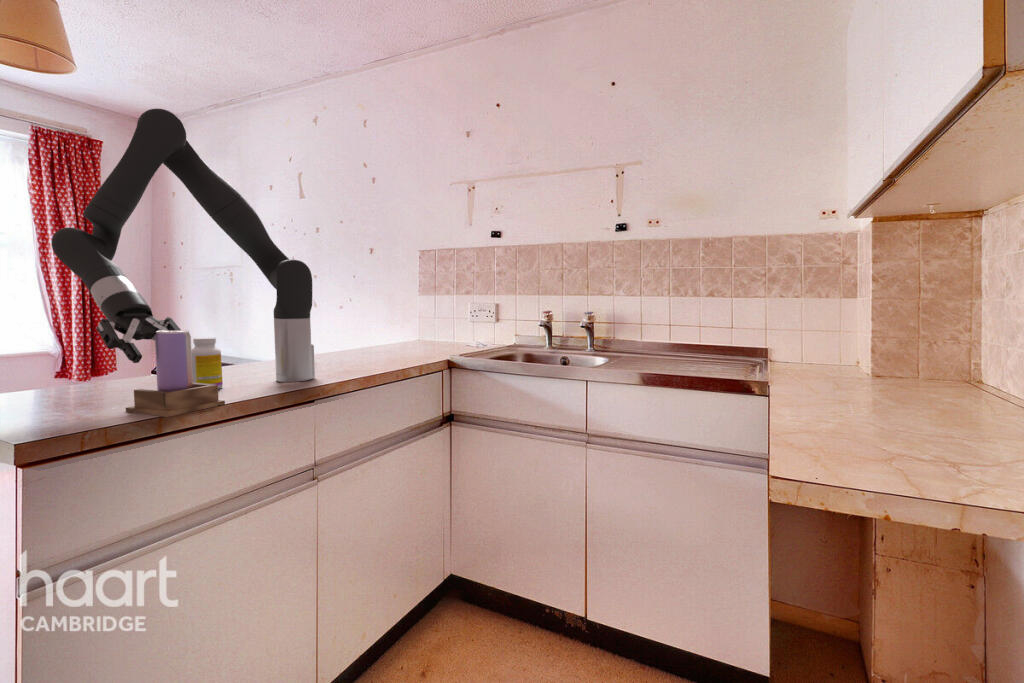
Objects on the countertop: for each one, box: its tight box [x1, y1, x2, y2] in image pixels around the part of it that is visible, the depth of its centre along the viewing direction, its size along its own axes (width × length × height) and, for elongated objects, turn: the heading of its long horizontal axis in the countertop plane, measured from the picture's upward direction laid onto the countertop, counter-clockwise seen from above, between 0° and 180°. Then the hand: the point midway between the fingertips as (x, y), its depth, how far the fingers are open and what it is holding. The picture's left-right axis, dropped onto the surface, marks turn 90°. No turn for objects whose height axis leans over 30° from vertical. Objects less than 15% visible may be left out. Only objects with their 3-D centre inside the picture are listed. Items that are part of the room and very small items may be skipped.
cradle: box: [125, 383, 226, 418], centre depth 98 cm, size 12×12×4 cm
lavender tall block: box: [154, 329, 193, 392], centre depth 98 cm, size 6×6×15 cm
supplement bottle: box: [191, 337, 224, 390], centre depth 118 cm, size 7×7×13 cm
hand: (160, 358), depth 99 cm, fingers open, 8 cm apart
